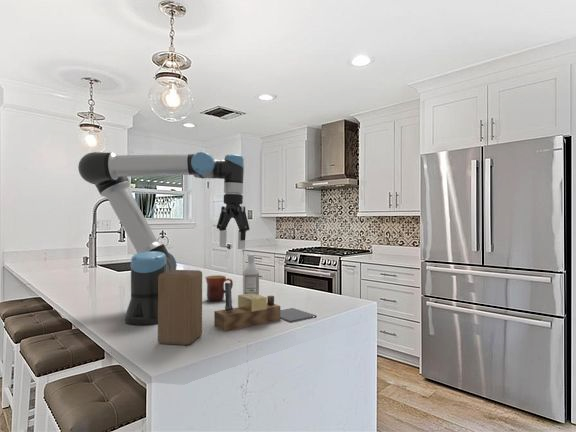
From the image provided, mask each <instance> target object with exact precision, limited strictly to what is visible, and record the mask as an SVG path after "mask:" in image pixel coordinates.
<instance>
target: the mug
mask: <svg viewBox="0 0 576 432" xmlns="http://www.w3.org/2000/svg"><path fill="white" fill-rule="evenodd" d="M205 280H206V298H207V301H209V302H214V303H215V302H221V301H223V300H224V299H225V283H226V282H227V281H229V283H231V290H232V288H233V285H234V282H233V279H232V278H229V277H228V278H226V276H225V275H219V274H218V275H217V274H214V275H207V276H205Z"/></svg>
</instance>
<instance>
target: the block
mask: <svg viewBox="0 0 576 432" xmlns="http://www.w3.org/2000/svg"><path fill="white" fill-rule="evenodd" d="M202 334H203V271H201V270H198V269H197V270H196V269H195V270H194V269H176V270H172V271H169V272H165V273H162V274H160V275H159V276H158V323H157V343H159V344H164V345H165V344H167V345H178V346H179V345H180V346H181V345H182V346H189V345H191V344H192V343H193V342H195V341H196V340H197V339H198V338H199V337H201V336H202Z"/></svg>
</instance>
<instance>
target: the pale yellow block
mask: <svg viewBox="0 0 576 432" xmlns="http://www.w3.org/2000/svg"><path fill="white" fill-rule="evenodd" d="M237 307H240V308H243V309H246V310H248V311H251V312H253V311H259V310H265V309H267V296H263V295H260V294H259V295H257V294H254V293H250V294H243V293H242V294H238V295H237Z"/></svg>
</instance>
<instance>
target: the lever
mask: <svg viewBox="0 0 576 432" xmlns="http://www.w3.org/2000/svg"><path fill="white" fill-rule="evenodd" d="M224 290H225V293H224V299H225V300H224V301H225V306H224V310H226V311H230V310H232V309H233V308H234V307H233V301H232V289H231V282H224Z"/></svg>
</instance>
